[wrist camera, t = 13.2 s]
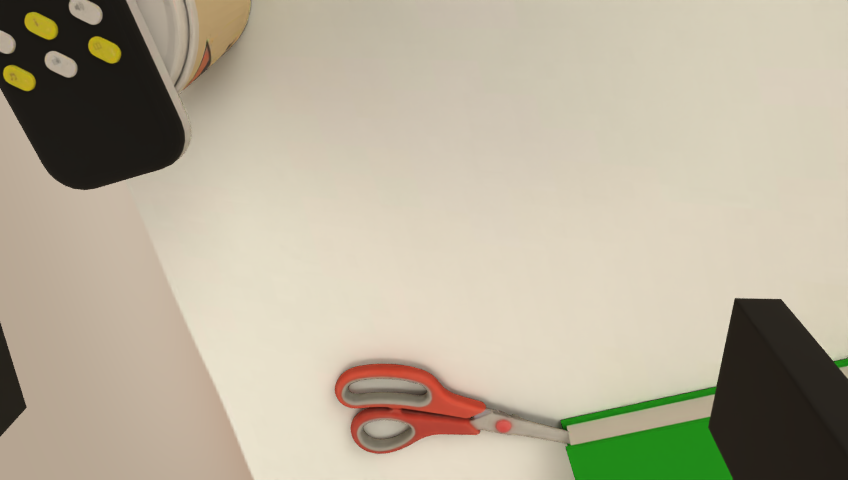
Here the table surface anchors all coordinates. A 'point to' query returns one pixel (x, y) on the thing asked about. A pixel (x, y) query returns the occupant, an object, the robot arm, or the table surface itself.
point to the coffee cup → (193, 33)
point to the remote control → (90, 89)
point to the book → (650, 440)
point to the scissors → (426, 410)
